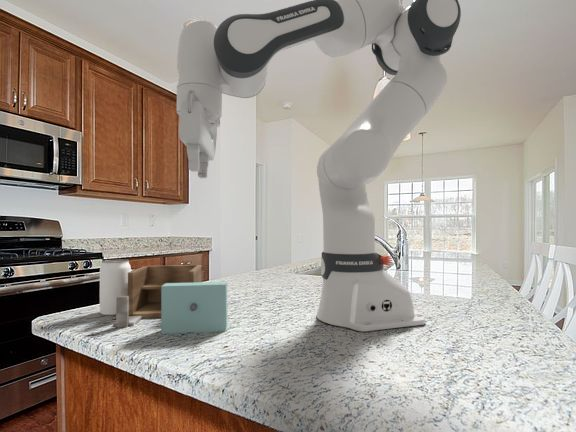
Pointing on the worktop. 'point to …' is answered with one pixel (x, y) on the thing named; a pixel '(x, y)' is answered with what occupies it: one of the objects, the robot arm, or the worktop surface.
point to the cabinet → (151, 291)
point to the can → (113, 284)
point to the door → (193, 307)
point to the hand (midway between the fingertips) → (198, 174)
